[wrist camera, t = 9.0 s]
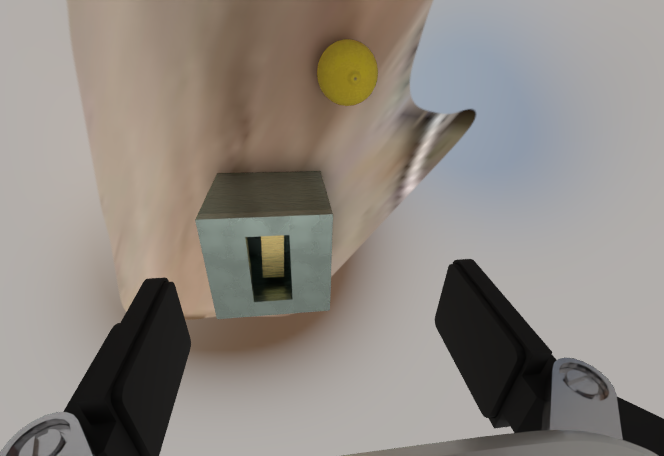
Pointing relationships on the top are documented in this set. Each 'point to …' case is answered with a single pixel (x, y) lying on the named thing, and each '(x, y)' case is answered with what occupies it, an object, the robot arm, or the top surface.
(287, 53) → the top surface
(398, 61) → the top surface
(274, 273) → the wooden block
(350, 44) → the lemon
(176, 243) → the top surface
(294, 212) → the coin box
